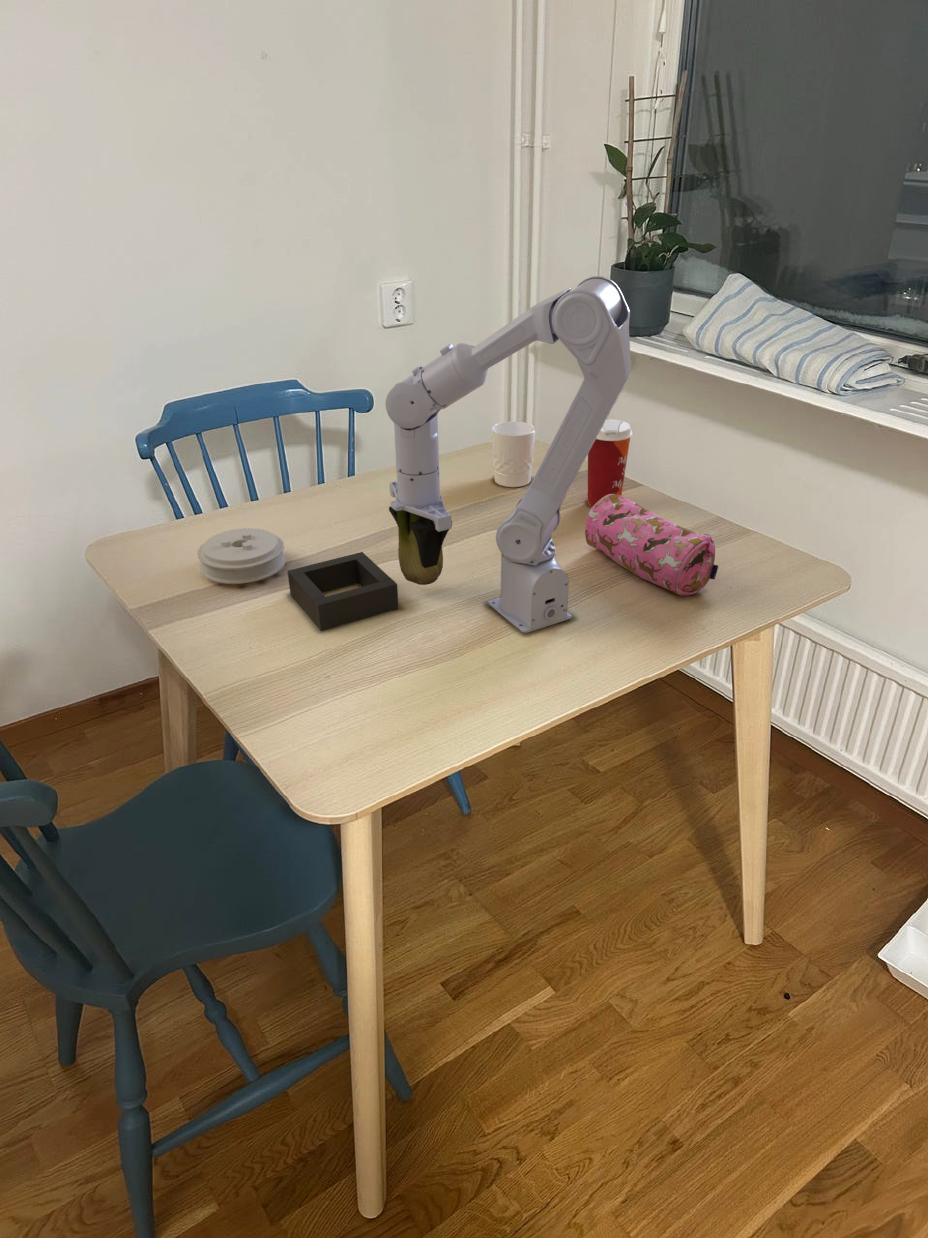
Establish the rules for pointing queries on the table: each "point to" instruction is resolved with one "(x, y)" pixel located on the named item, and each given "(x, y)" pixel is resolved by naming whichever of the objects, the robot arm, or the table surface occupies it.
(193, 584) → the table surface
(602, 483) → the paper cup
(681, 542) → the pencil case
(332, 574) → the holder
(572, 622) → the table surface
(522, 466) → the white cup
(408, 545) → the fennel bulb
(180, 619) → the table surface
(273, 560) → the lid
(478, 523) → the table surface
